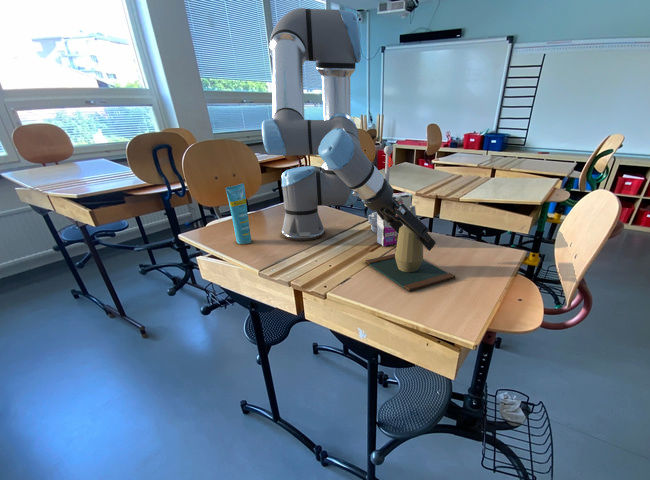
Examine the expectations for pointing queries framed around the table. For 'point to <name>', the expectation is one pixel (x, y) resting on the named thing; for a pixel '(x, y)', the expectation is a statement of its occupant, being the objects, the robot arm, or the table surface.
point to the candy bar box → (384, 230)
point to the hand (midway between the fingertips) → (417, 240)
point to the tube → (239, 213)
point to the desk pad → (409, 273)
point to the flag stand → (387, 168)
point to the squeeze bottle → (408, 249)
